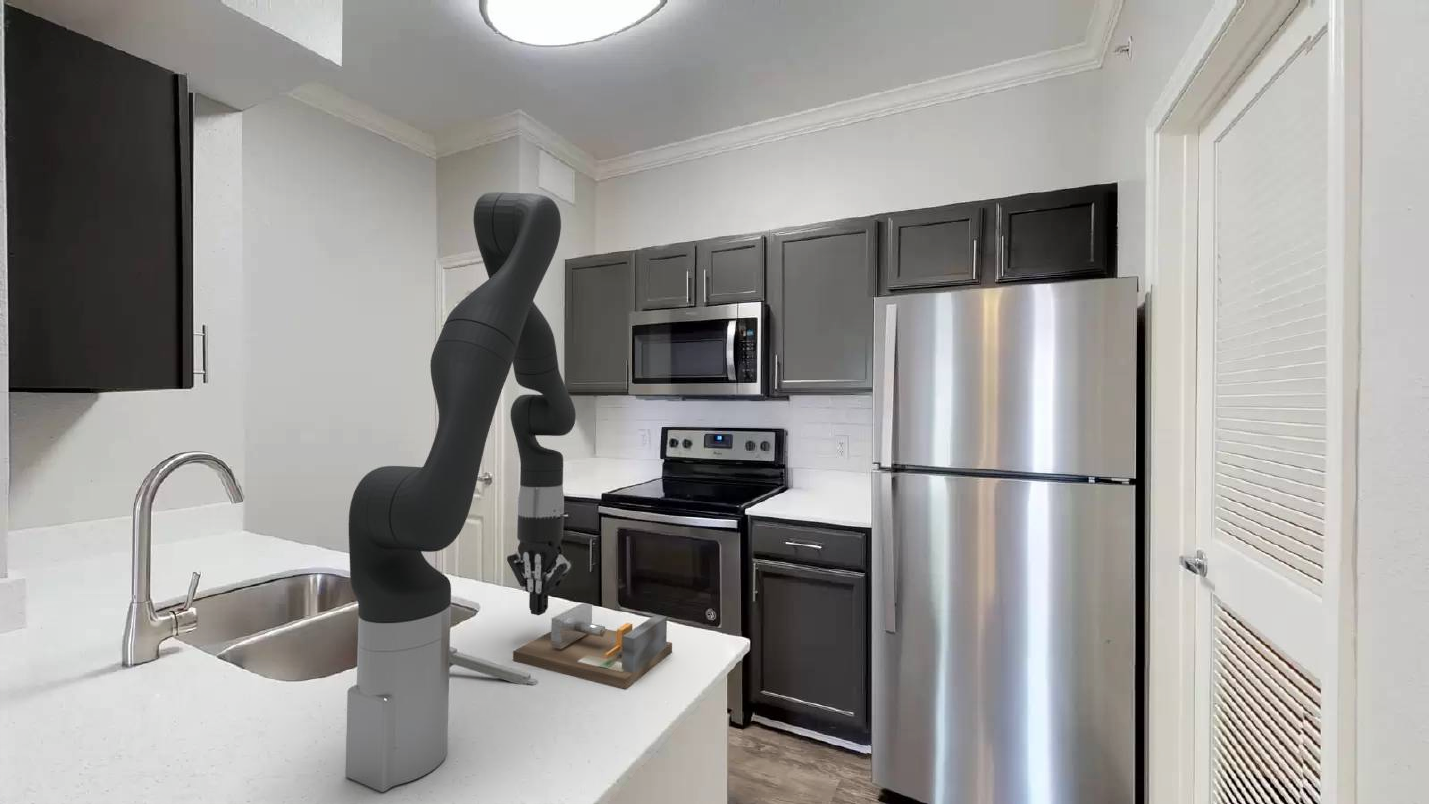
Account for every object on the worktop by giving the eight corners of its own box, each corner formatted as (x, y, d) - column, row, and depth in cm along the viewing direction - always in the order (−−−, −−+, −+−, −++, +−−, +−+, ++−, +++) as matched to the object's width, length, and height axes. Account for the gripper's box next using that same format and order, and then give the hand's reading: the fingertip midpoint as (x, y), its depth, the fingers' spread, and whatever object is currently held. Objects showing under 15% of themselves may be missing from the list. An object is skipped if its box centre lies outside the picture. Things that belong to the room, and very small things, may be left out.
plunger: (587, 655, 88) (587, 625, 88) (551, 646, 91) (551, 618, 91) (616, 636, 96) (616, 609, 96) (582, 629, 98) (582, 603, 98)
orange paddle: (608, 659, 85) (609, 638, 85) (603, 657, 86) (603, 637, 86) (632, 643, 91) (632, 623, 91) (626, 641, 92) (627, 622, 92)
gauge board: (625, 689, 82) (626, 643, 82) (513, 660, 90) (513, 619, 90) (671, 651, 95) (672, 612, 95) (569, 629, 103) (570, 593, 103)
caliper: (407, 674, 86) (408, 632, 86) (412, 671, 87) (413, 630, 87) (535, 687, 82) (536, 643, 83) (538, 683, 84) (539, 640, 84)
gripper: (495, 511, 97) (492, 614, 96) (557, 518, 91) (555, 627, 91) (526, 505, 104) (524, 601, 103) (586, 511, 98) (583, 612, 98)
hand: (538, 613), depth 97 cm, fingers closed
